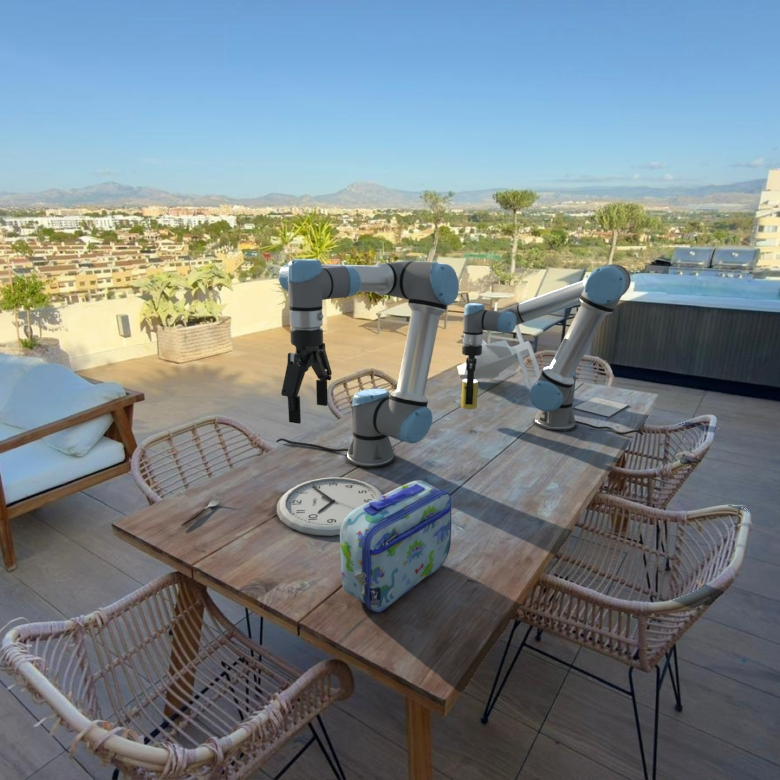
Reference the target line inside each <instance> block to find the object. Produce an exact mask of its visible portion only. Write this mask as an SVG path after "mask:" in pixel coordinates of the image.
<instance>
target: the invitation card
mask: <svg viewBox="0 0 780 780" xmlns="http://www.w3.org/2000/svg"><path fill="white" fill-rule="evenodd" d="M628 406H629V404H627V403H623V402H618V401H614V400H609V399H605V398H601V397H596V396H593V397H592V398H590V399H588V400H586V401H584V402H582V403H580V404H578V405H575V406H574V407H573V409H575V410H581V411H584V412H587V413H593V414H596V415H600V416H604V417H608V418H609V417H611V416H613V415H614V414H616V413H617V412H619V411H621V410H623V409H624V408H626V407H628Z"/></svg>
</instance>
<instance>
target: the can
mask: <svg viewBox="0 0 780 780" xmlns="http://www.w3.org/2000/svg"><path fill="white" fill-rule="evenodd" d="M461 380H462V379H461ZM466 386H467V379H464V380H462V381H461V397H460V398H461V399H460V408H462V409H465V410H475V409H477V408H478V392H479V391H478V390H479V379H473V404H472V405H471V404H466V388H465V387H466Z"/></svg>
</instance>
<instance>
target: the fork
mask: <svg viewBox="0 0 780 780" xmlns="http://www.w3.org/2000/svg"><path fill="white" fill-rule="evenodd" d="M224 494H225V493H223V492H220V491H217V492H216V494H215V495H214V496H213V498H212V499H211V500H210V502H209V503H208V504H207V506H206V507H204V508H202V509H200V510H198V511H197V512H195V513H194V514H193V515H192V516H190V517H189V518H188V519H186V520H185V521H184V522H183V523H182V524H181V525H180V526H181V527H183V526H185V525H187V524H189V523H190V522H191V521H193V520H195V519H196V518H198V517H199V516H201V515H202V514H203V513H204V512H205V511H206V510H207V509H208V508H212V507H216V506H218V505H219V504H220V503H221V501H222V498H223V497H224Z"/></svg>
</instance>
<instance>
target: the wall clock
mask: <svg viewBox="0 0 780 780" xmlns="http://www.w3.org/2000/svg"><path fill="white" fill-rule="evenodd" d="M384 494H385V493H383V492H382V491H381V490H380V489H379V488H377V487H376V486H374V485H372V484H371V483H369V482H365V481H362V480H359V479H355V478H349V477H338V476H337V477H335V476H333V477H332V476H331V477H322V478H317V479H312V480H307V481H305V482H302V483H299V484H297V485H295V486H293V487H292V488H290V489H288V490H287V491H286V492H285V493H284V494H283V495H281V496H280V498H279V499H278V502H277V503H276V515H277V517H278V518H279V520H280V521H281V522H282V523H283V524H285V525H286V526H287V527H288V528H290V529H293V530H295V531H297V532H299V533H303V534H308V535H312V536H327V537H328V536H329V537H331V536H332V537H333V536H340V530H341V526H342V523H343V521H344V519H345V518H346V516H347V515H348V514H349V513H350V512H351V511H353V510H354V509H356V508H358V507H360V506H362V505H364V504H366V503H368V502H370V501H372V500H374V499H376V498H378V497H380V496H382V495H384Z"/></svg>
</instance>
